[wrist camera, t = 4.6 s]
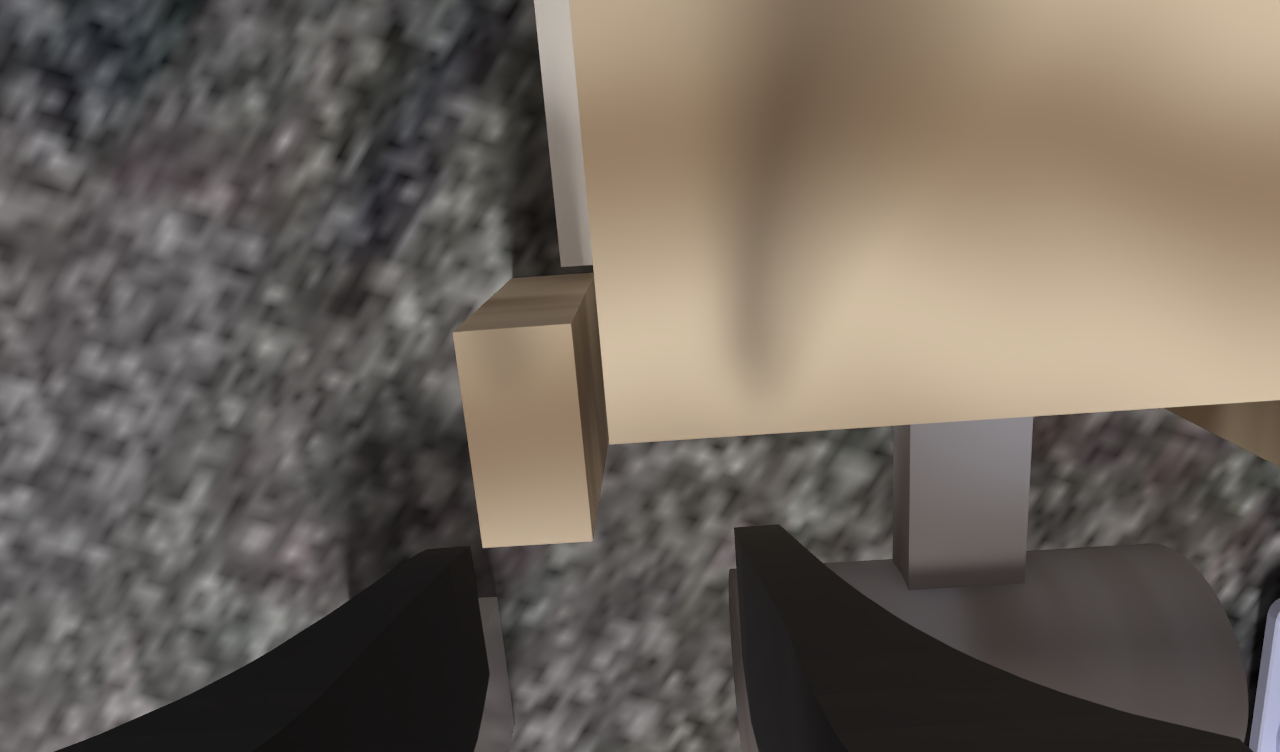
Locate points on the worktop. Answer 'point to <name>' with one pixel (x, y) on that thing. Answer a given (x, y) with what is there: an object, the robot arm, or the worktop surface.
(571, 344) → the trapdoor posts
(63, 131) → the worktop surface
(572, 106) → the tray
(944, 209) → the trapdoor
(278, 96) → the worktop surface
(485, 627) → the grey rectangular block
